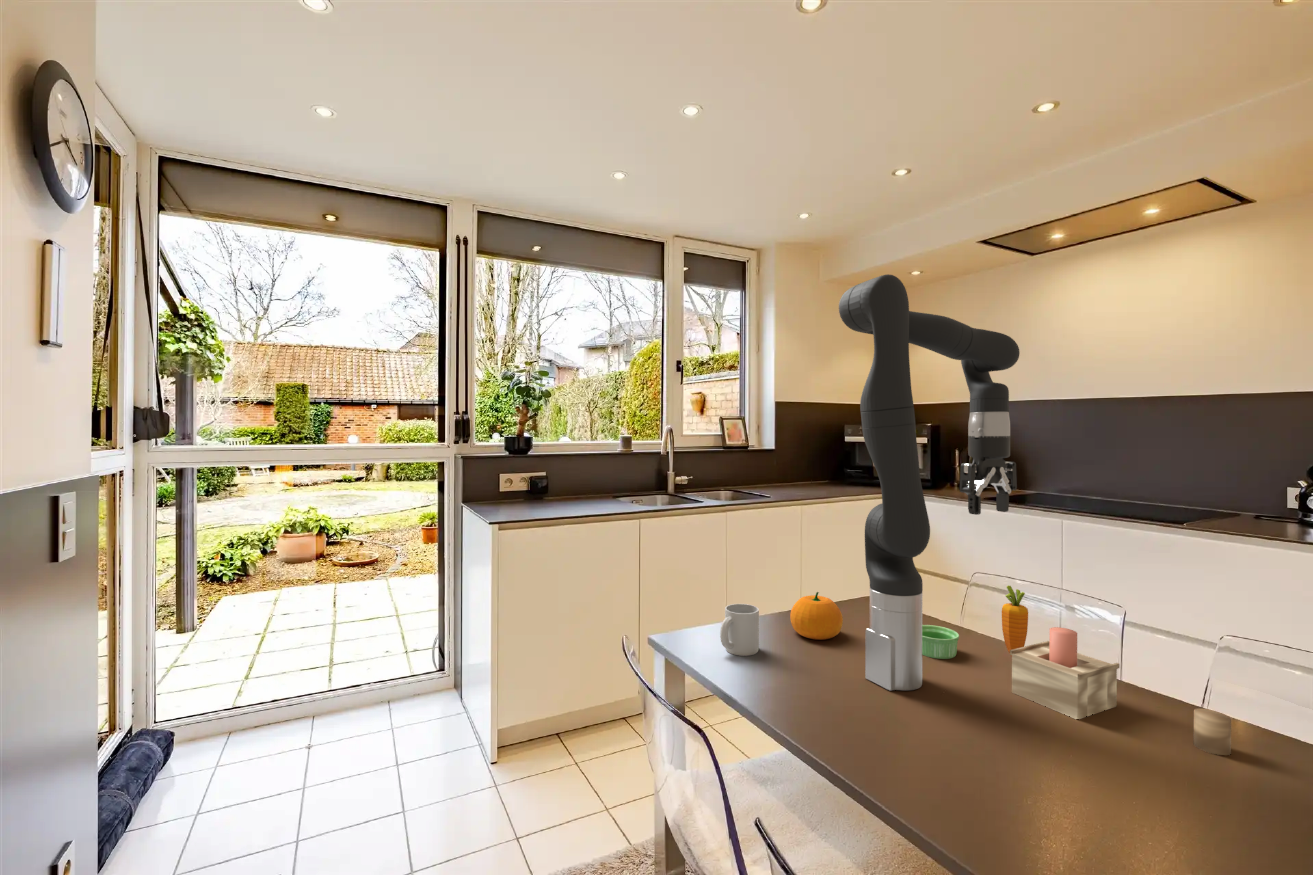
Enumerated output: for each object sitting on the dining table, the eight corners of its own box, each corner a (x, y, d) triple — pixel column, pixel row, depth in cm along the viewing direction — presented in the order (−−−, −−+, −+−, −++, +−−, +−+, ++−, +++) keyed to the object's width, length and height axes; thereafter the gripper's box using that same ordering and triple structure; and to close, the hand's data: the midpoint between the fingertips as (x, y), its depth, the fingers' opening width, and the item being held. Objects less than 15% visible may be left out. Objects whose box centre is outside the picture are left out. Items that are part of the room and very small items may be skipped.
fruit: (832, 625, 141) (832, 584, 141) (850, 643, 129) (850, 598, 129) (784, 626, 141) (784, 585, 140) (798, 644, 129) (798, 599, 129)
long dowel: (1067, 706, 100) (1068, 636, 100) (1044, 696, 103) (1044, 629, 103) (1082, 701, 101) (1082, 632, 101) (1058, 692, 105) (1058, 625, 105)
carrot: (1033, 665, 117) (1033, 590, 117) (1006, 663, 118) (1006, 589, 118) (1023, 656, 122) (1023, 584, 122) (996, 654, 123) (997, 583, 123)
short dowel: (1222, 758, 84) (1222, 723, 84) (1188, 744, 88) (1188, 711, 87) (1236, 751, 86) (1236, 718, 85) (1201, 738, 89) (1202, 706, 89)
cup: (765, 650, 125) (765, 609, 125) (734, 662, 119) (734, 618, 119) (740, 641, 131) (740, 601, 131) (709, 652, 124) (709, 610, 124)
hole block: (1080, 720, 95) (1080, 674, 95) (1009, 691, 105) (1009, 650, 105) (1119, 707, 99) (1119, 663, 99) (1047, 680, 110) (1048, 640, 110)
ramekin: (909, 642, 130) (909, 623, 130) (953, 646, 128) (953, 626, 127) (915, 658, 121) (915, 636, 121) (963, 662, 119) (963, 641, 119)
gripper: (994, 434, 127) (994, 508, 127) (948, 434, 121) (948, 512, 121) (1029, 434, 120) (1028, 513, 120) (982, 434, 114) (982, 517, 114)
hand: (988, 512), depth 121 cm, fingers open, 8 cm apart
